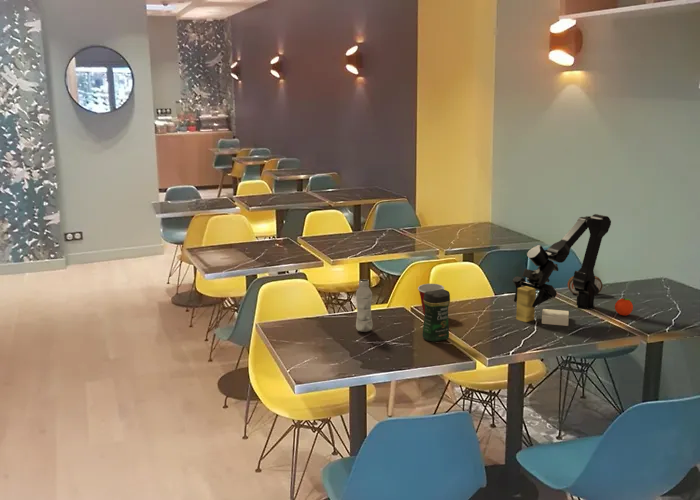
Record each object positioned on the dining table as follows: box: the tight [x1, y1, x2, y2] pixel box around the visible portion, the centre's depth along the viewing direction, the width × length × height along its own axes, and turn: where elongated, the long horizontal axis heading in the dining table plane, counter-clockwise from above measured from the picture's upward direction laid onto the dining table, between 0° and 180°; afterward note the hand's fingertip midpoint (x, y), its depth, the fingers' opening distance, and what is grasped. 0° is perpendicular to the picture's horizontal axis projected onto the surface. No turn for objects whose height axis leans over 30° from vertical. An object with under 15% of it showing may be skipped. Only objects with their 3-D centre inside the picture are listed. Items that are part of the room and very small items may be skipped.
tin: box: [566, 275, 603, 295], centre depth 320 cm, size 15×3×8 cm, turn 84°
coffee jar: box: [421, 288, 451, 343], centre depth 263 cm, size 10×8×19 cm
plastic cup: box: [417, 283, 445, 316], centre depth 291 cm, size 11×11×12 cm
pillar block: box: [515, 286, 537, 323], centre depth 284 cm, size 5×5×13 cm
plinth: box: [541, 308, 570, 327], centre depth 284 cm, size 10×10×3 cm
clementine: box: [614, 298, 635, 316], centre depth 289 cm, size 8×7×7 cm
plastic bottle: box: [355, 278, 373, 333], centre depth 272 cm, size 6×7×20 cm
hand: (523, 304), depth 283 cm, fingers open, 9 cm apart
